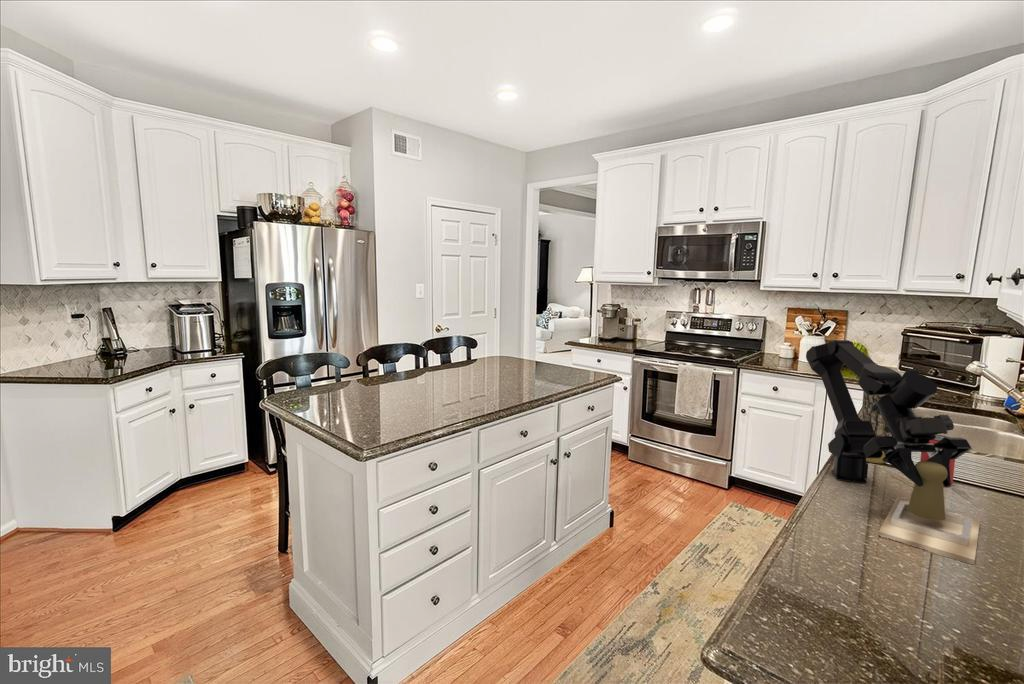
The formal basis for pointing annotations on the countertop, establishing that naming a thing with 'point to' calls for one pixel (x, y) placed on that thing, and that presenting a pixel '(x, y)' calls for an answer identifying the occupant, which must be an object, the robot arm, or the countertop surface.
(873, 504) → the countertop surface
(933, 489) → the cork
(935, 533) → the clear rectangular frame
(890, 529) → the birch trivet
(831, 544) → the countertop surface
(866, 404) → the brown tall cylinder
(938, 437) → the beer can
